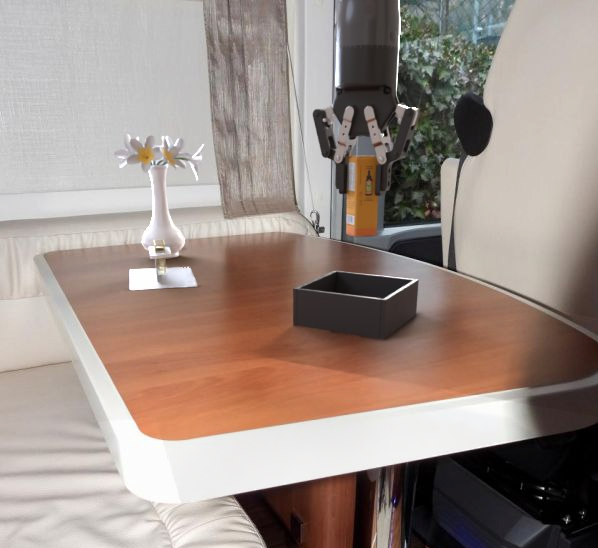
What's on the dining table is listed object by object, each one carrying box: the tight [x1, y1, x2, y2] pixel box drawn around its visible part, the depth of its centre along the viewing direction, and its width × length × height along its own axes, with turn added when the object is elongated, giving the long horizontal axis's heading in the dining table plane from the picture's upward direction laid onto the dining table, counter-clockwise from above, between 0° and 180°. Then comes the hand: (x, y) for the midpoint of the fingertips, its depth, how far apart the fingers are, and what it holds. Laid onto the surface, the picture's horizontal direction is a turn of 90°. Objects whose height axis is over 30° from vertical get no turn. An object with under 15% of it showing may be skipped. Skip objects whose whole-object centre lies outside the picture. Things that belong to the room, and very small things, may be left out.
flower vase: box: [113, 133, 205, 260], centre depth 137 cm, size 13×18×25 cm
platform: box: [129, 240, 199, 291], centre depth 120 cm, size 12×18×7 cm, turn 14°
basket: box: [292, 270, 420, 340], centre depth 89 cm, size 13×13×7 cm
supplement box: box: [345, 155, 379, 238], centre depth 83 cm, size 3×3×10 cm
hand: (362, 193), depth 83 cm, fingers closed on supplement box, 4 cm apart
